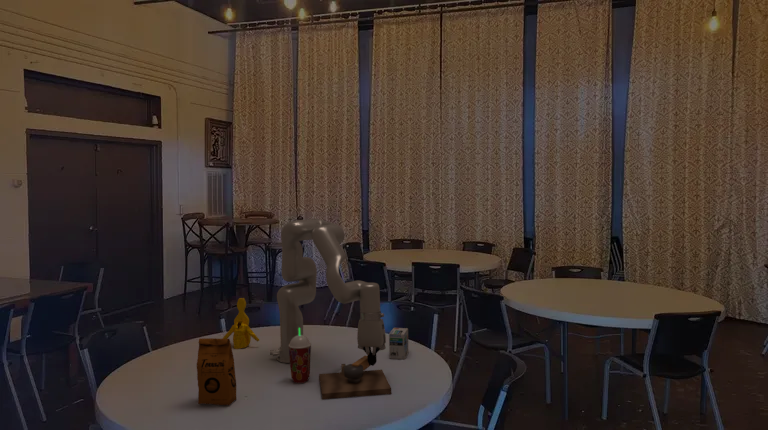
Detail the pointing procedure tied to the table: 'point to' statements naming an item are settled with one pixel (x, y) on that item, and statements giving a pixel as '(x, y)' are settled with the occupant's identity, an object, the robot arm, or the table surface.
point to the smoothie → (300, 358)
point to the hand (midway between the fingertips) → (372, 364)
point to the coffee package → (216, 372)
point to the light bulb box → (398, 343)
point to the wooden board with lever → (353, 384)
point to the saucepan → (356, 368)
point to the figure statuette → (241, 328)
